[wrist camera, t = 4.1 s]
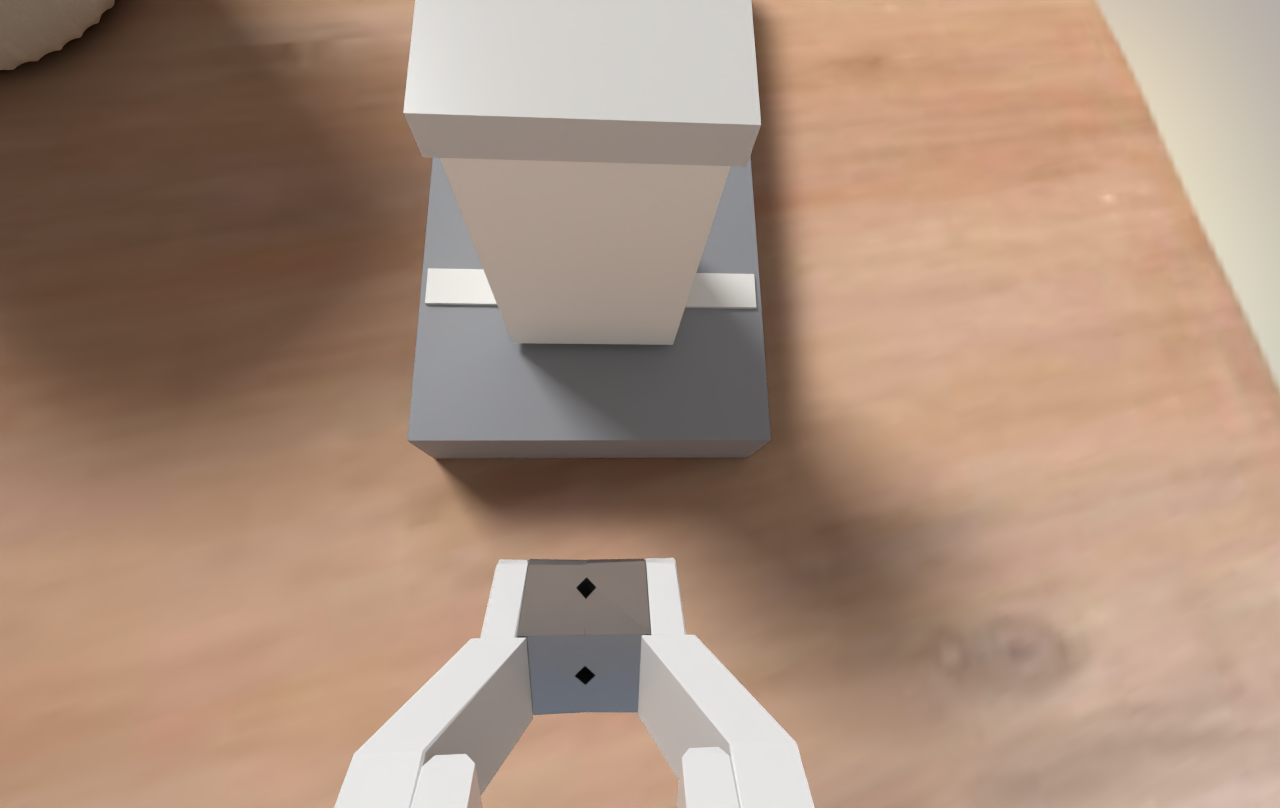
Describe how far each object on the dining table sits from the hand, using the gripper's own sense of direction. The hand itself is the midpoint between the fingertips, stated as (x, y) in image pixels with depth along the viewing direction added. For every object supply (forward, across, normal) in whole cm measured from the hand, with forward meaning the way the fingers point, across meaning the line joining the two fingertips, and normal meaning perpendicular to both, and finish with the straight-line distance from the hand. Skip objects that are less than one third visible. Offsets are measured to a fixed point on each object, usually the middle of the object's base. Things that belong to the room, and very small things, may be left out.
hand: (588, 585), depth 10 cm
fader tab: (+11, 0, -2) cm, 11 cm away
